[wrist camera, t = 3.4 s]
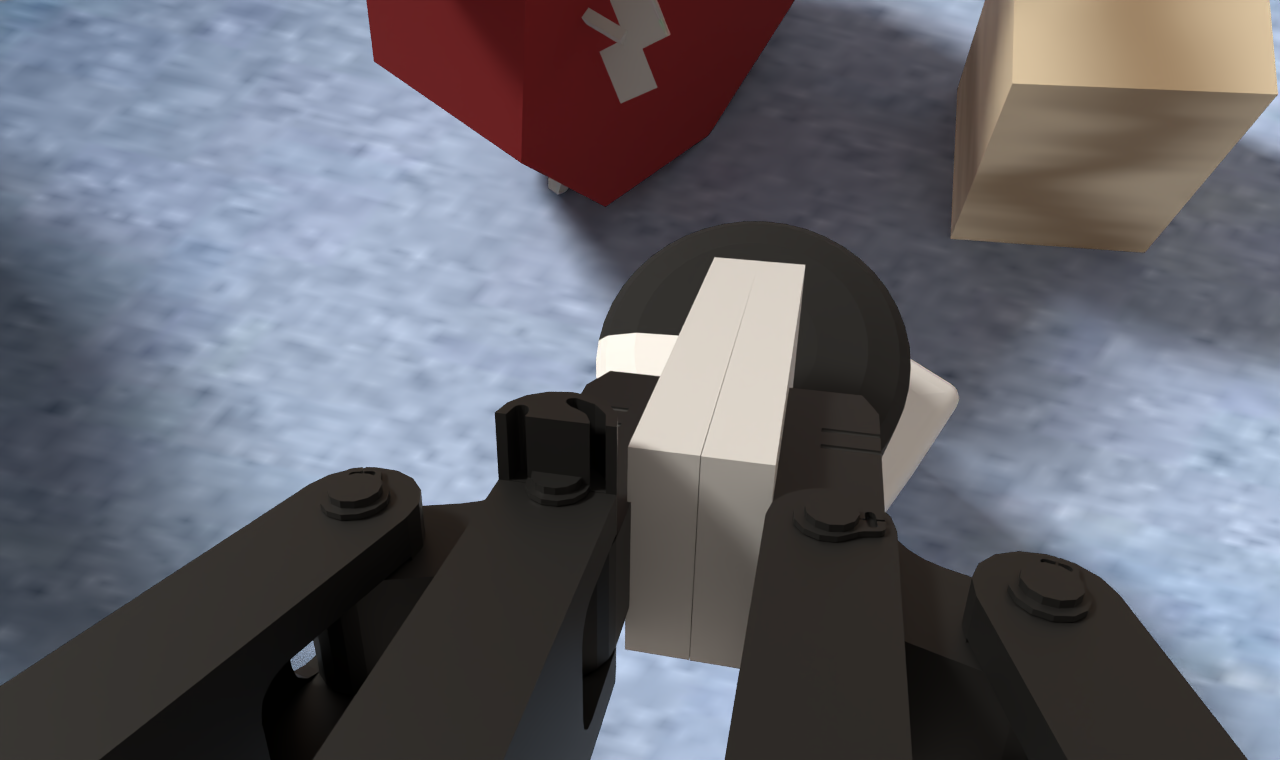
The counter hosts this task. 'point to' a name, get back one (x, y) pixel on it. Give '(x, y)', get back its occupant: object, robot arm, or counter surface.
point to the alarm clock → (578, 76)
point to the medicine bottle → (827, 339)
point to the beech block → (1102, 115)
